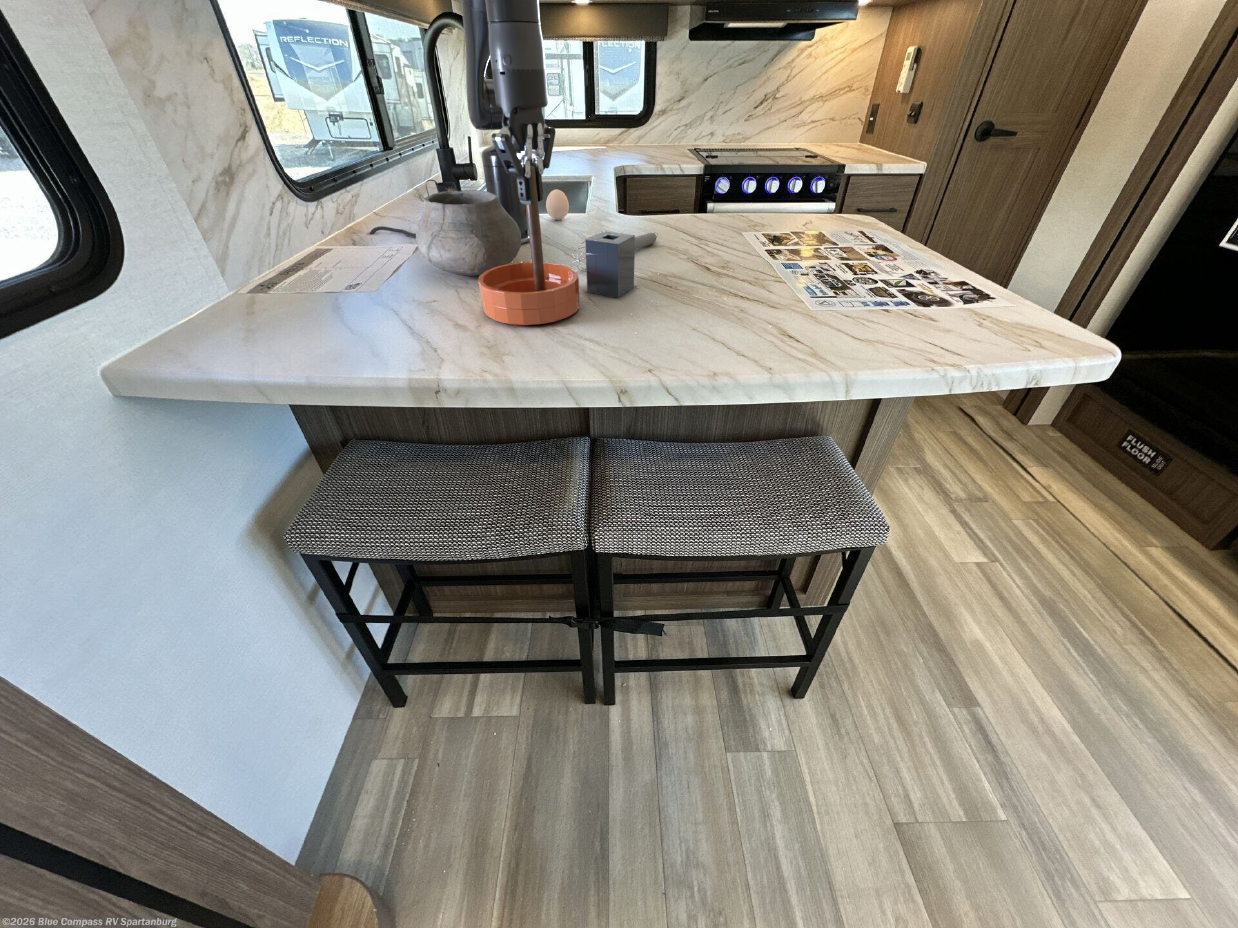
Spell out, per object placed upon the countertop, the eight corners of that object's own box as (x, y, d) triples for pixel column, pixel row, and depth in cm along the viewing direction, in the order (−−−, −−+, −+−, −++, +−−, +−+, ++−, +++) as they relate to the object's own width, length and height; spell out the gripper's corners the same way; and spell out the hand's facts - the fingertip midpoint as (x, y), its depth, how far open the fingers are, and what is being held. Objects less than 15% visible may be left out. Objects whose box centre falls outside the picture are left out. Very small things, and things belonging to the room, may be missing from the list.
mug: (464, 225, 143) (456, 177, 136) (464, 230, 139) (455, 181, 132) (435, 226, 142) (425, 178, 134) (434, 231, 138) (424, 182, 130)
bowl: (463, 316, 91) (457, 283, 87) (522, 287, 103) (518, 256, 100) (544, 335, 85) (541, 300, 81) (596, 301, 97) (595, 270, 93)
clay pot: (537, 260, 117) (530, 188, 108) (502, 291, 101) (490, 209, 92) (451, 254, 121) (437, 184, 112) (404, 283, 105) (383, 204, 95)
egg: (574, 219, 149) (572, 189, 144) (558, 223, 145) (556, 192, 140) (558, 216, 152) (556, 186, 147) (542, 220, 148) (539, 189, 143)
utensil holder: (587, 292, 101) (585, 239, 95) (604, 281, 106) (603, 231, 100) (618, 298, 98) (618, 244, 92) (633, 287, 103) (635, 235, 97)
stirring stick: (532, 295, 91) (519, 167, 78) (539, 291, 92) (527, 165, 80) (542, 297, 90) (529, 168, 78) (548, 293, 91) (537, 166, 79)
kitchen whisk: (666, 243, 129) (668, 216, 125) (589, 280, 107) (588, 249, 103) (646, 239, 132) (647, 213, 128) (567, 275, 110) (565, 244, 106)
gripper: (526, 66, 77) (537, 193, 88) (464, 66, 68) (485, 208, 78) (567, 66, 74) (573, 197, 85) (509, 66, 65) (525, 213, 75)
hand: (531, 202), depth 82 cm, fingers closed on stirring stick, 2 cm apart
